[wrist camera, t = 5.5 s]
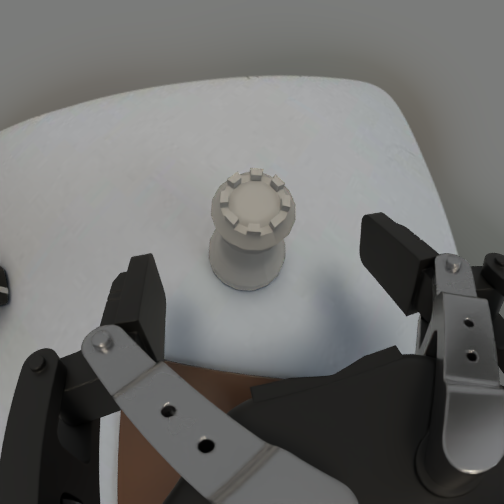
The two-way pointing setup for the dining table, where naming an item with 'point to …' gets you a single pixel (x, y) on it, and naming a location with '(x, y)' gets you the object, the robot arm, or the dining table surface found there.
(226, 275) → the rook chess piece
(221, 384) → the serving board
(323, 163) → the dining table surface
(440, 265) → the robot arm
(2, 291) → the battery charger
